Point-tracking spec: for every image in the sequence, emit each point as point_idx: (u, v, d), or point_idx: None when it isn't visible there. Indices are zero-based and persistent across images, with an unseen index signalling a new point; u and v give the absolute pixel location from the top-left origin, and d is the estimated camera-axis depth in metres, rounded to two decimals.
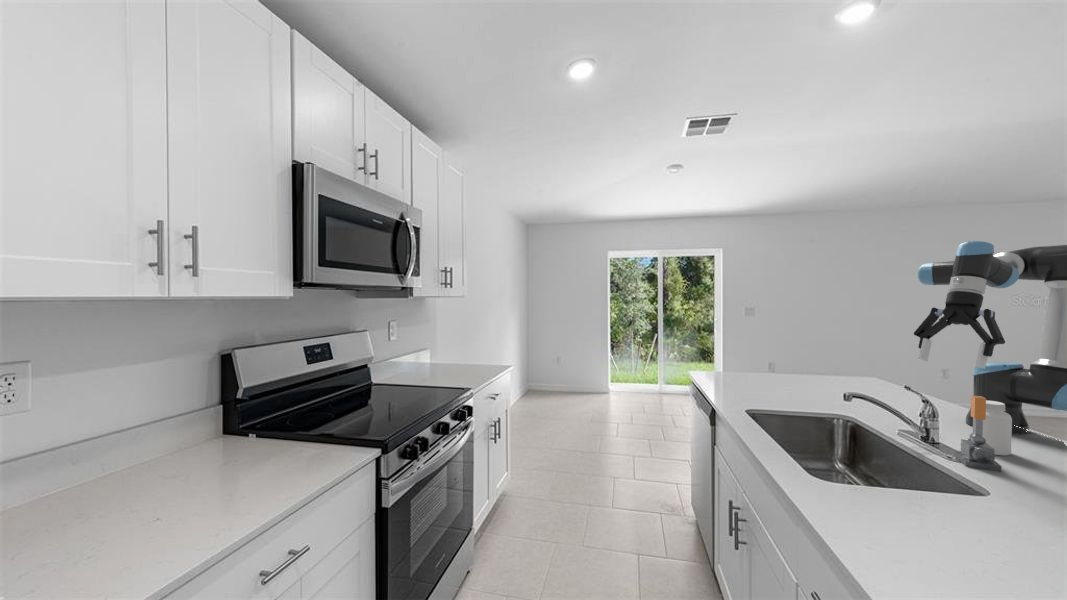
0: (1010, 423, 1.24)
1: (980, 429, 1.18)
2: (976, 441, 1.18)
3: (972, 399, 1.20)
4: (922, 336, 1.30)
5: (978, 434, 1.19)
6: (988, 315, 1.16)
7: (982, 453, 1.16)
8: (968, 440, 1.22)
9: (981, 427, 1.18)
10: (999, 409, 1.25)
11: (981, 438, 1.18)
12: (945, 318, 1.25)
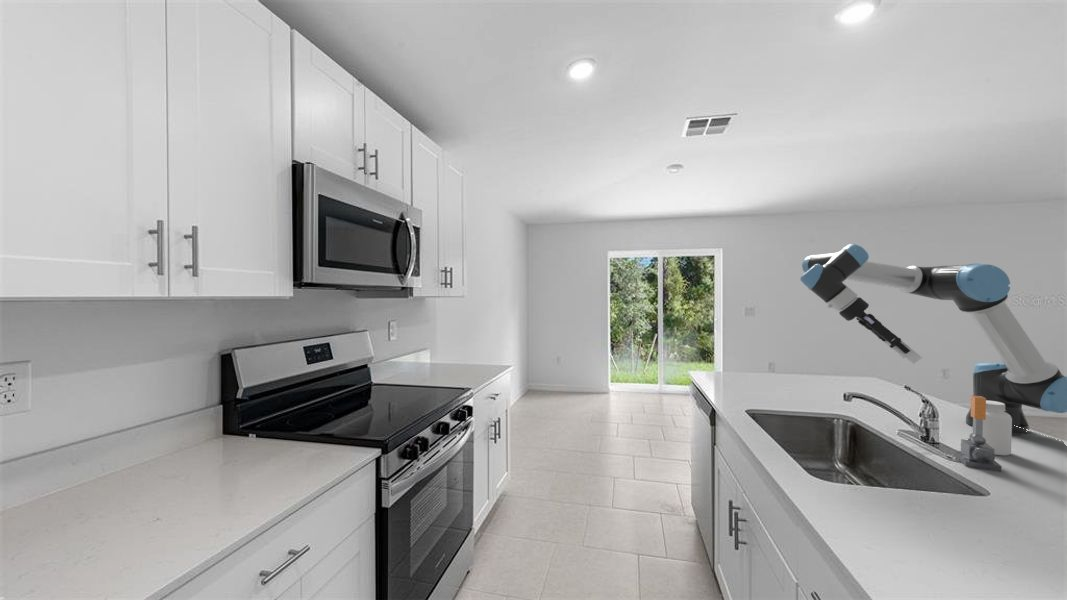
0: (1010, 423, 1.24)
1: (980, 429, 1.18)
2: (976, 441, 1.18)
3: (972, 399, 1.20)
4: (883, 340, 1.34)
5: (978, 434, 1.19)
6: (869, 325, 1.25)
7: (982, 453, 1.16)
8: (968, 440, 1.22)
9: (981, 427, 1.18)
10: (999, 409, 1.25)
11: (981, 438, 1.18)
12: (865, 327, 1.33)
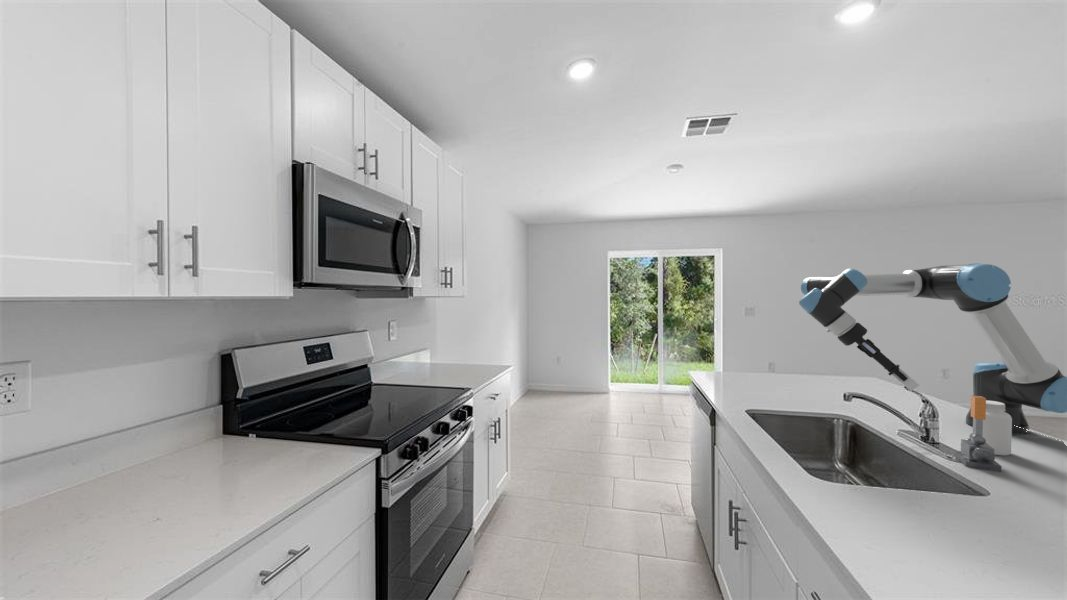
0: (1010, 423, 1.24)
1: (980, 429, 1.18)
2: (976, 441, 1.18)
3: (972, 399, 1.20)
4: (888, 371, 1.29)
5: (978, 434, 1.19)
6: (871, 355, 1.26)
7: (982, 453, 1.16)
8: (968, 440, 1.22)
9: (981, 427, 1.18)
10: (999, 409, 1.25)
11: (981, 438, 1.18)
12: (864, 352, 1.32)
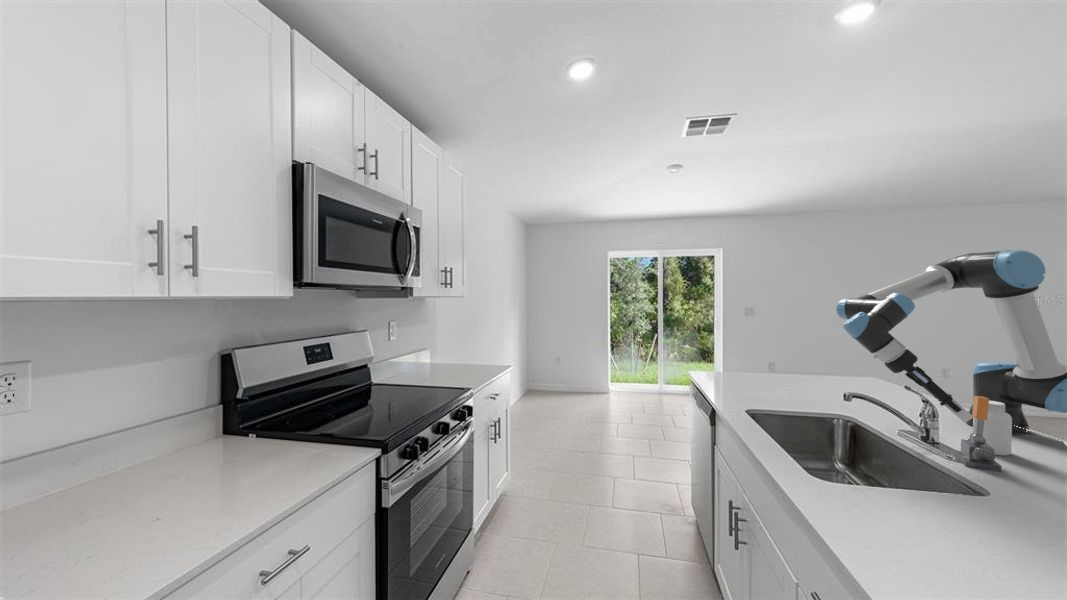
0: (1010, 423, 1.24)
1: (981, 429, 1.18)
2: (976, 441, 1.18)
3: (974, 399, 1.20)
4: (939, 400, 1.24)
5: (978, 434, 1.18)
6: (923, 384, 1.21)
7: (982, 453, 1.16)
8: (968, 440, 1.22)
9: (982, 427, 1.18)
10: (999, 409, 1.25)
11: (981, 438, 1.18)
12: (914, 380, 1.26)
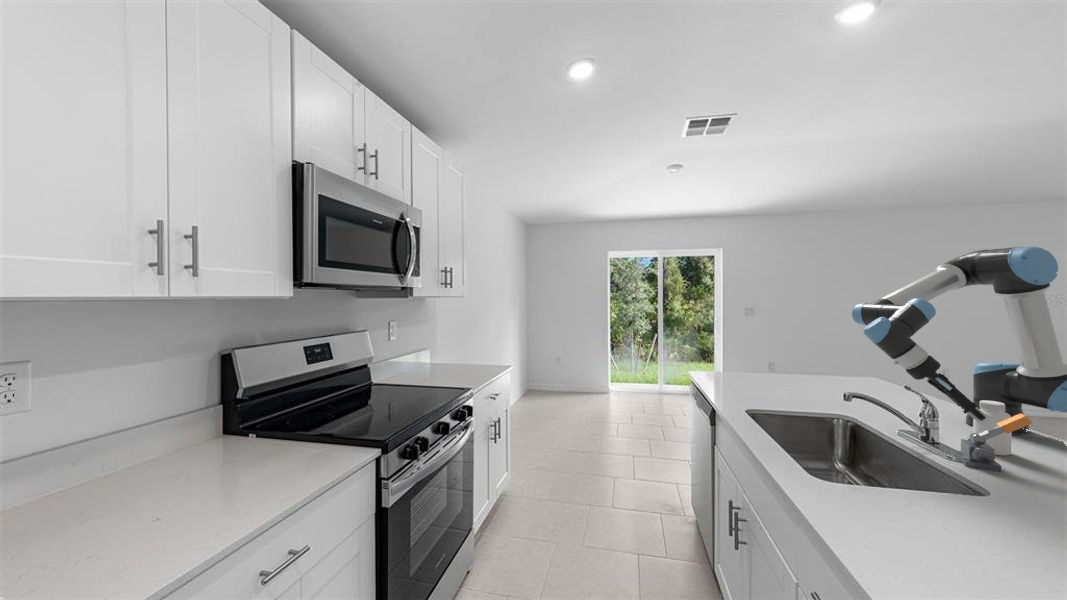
0: None
1: (991, 435, 1.17)
2: (976, 439, 1.18)
3: (1018, 415, 1.16)
4: (962, 408, 1.21)
5: (984, 437, 1.18)
6: (946, 392, 1.18)
7: (982, 453, 1.16)
8: (968, 440, 1.22)
9: (994, 435, 1.17)
10: (999, 409, 1.25)
11: (983, 440, 1.18)
12: (936, 387, 1.24)
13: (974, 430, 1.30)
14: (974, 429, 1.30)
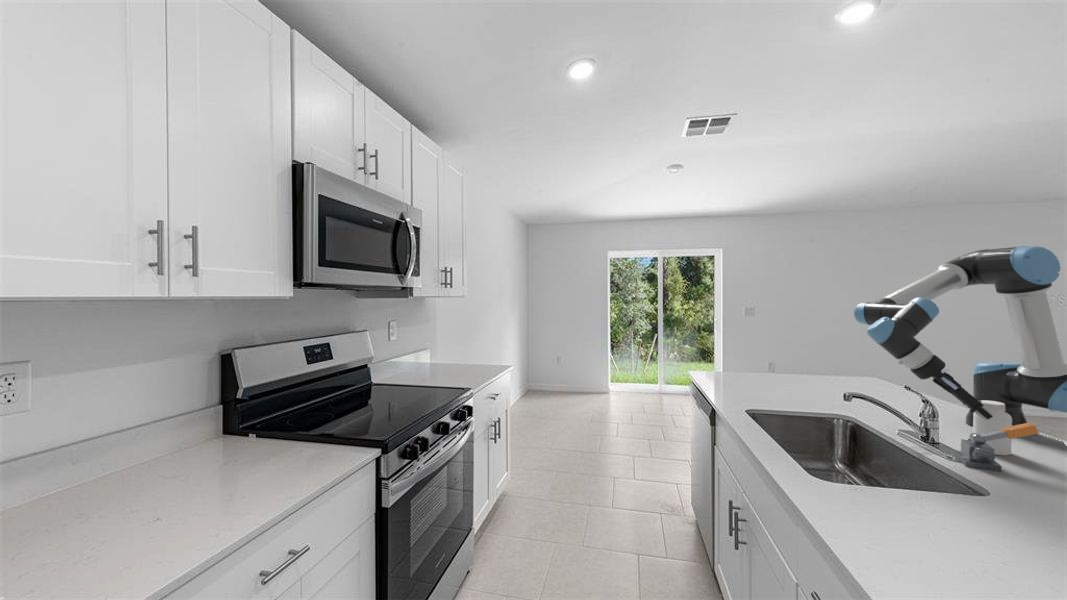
0: (1010, 423, 1.24)
1: (993, 438, 1.17)
2: (976, 438, 1.18)
3: (1026, 424, 1.15)
4: (968, 407, 1.21)
5: (985, 438, 1.18)
6: (952, 391, 1.18)
7: (982, 453, 1.16)
8: (968, 440, 1.22)
9: (996, 438, 1.17)
10: (999, 409, 1.25)
11: (983, 441, 1.18)
12: None
13: (974, 430, 1.30)
14: (974, 429, 1.30)
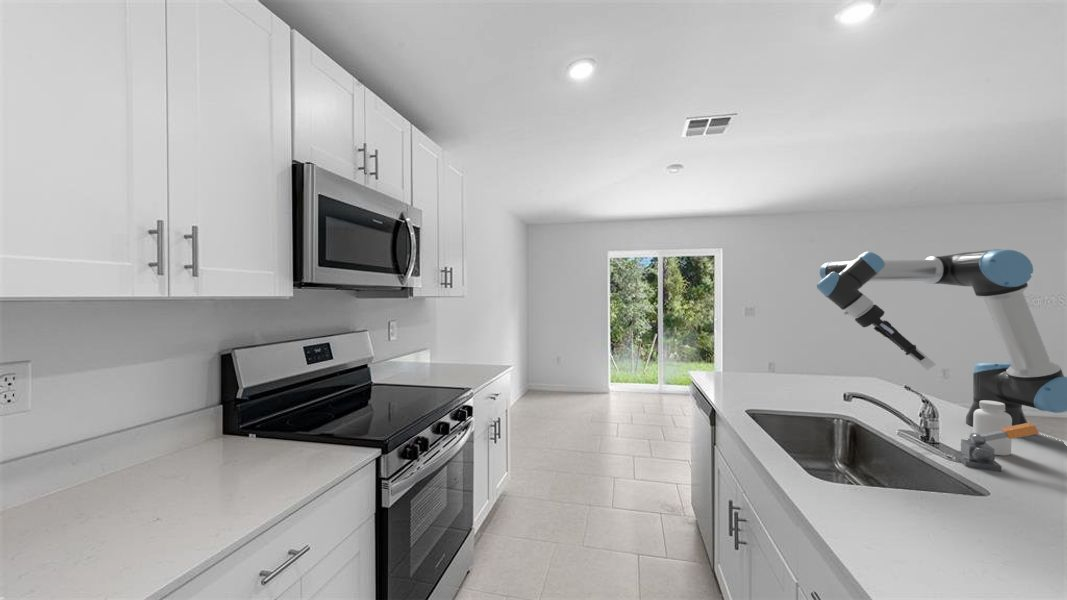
0: (1010, 423, 1.24)
1: (993, 438, 1.17)
2: (976, 438, 1.18)
3: (1026, 424, 1.15)
4: (905, 351, 1.33)
5: (985, 438, 1.18)
6: (889, 335, 1.30)
7: (982, 453, 1.16)
8: (968, 440, 1.22)
9: (996, 438, 1.17)
10: (999, 409, 1.25)
11: (983, 441, 1.18)
12: None
13: (974, 430, 1.30)
14: (974, 429, 1.30)
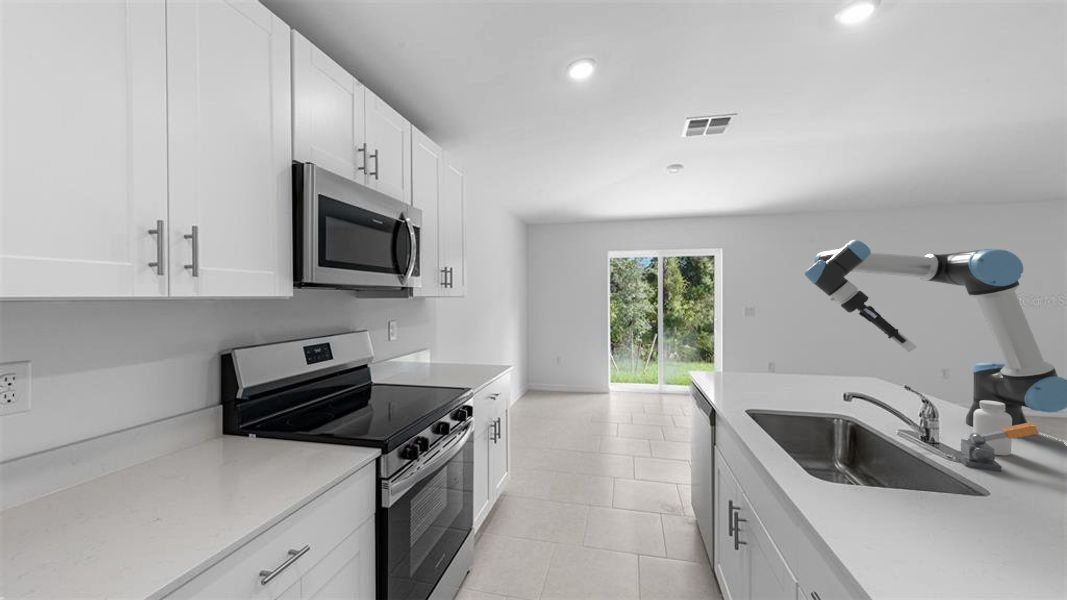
0: (1010, 423, 1.24)
1: (993, 438, 1.17)
2: (976, 438, 1.18)
3: (1026, 424, 1.15)
4: (888, 335, 1.39)
5: (985, 438, 1.18)
6: (872, 319, 1.36)
7: (982, 453, 1.16)
8: (968, 440, 1.22)
9: (996, 438, 1.17)
10: (999, 409, 1.25)
11: (983, 441, 1.18)
12: (866, 318, 1.42)
13: (974, 430, 1.30)
14: (974, 429, 1.30)
